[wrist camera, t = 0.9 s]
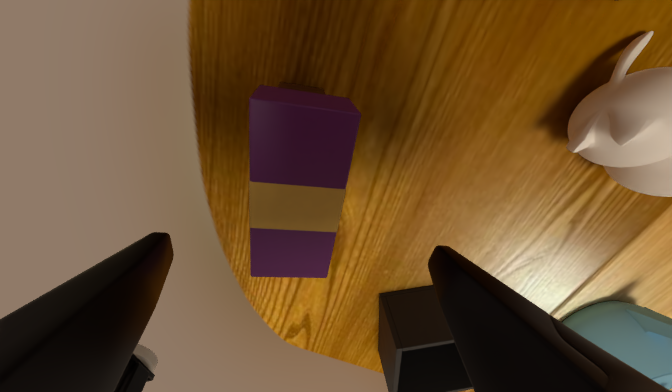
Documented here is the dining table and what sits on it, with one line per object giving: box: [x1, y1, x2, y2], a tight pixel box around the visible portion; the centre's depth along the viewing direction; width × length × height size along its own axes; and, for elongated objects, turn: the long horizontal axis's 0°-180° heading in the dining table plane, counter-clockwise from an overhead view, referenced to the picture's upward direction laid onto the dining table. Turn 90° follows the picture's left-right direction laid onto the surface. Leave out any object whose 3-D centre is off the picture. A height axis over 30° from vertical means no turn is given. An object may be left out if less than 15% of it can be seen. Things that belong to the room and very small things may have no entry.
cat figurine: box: [566, 31, 672, 197], centre depth 19 cm, size 9×11×12 cm
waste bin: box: [378, 285, 473, 392], centre depth 32 cm, size 13×13×6 cm
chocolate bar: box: [249, 85, 361, 278], centre depth 11 cm, size 8×4×2 cm, turn 171°
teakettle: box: [561, 301, 672, 390], centre depth 37 cm, size 15×15×11 cm
